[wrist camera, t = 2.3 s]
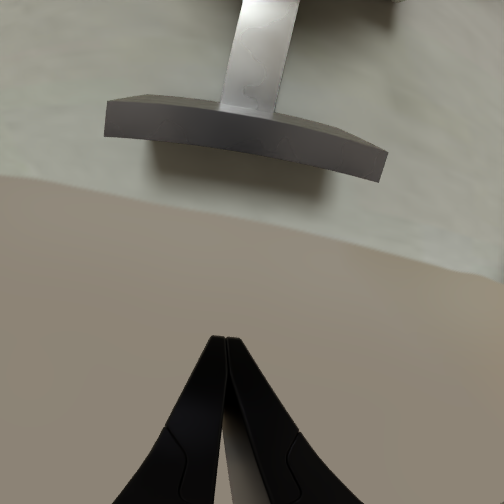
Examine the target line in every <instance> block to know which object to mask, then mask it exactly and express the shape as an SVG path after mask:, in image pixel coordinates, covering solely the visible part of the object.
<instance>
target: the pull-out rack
mask: <svg viewBox="0 0 504 504" xmlns="http://www.w3.org/2000/svg"><path fill="white" fill-rule="evenodd" d="M391 1H393V2H395V3H399V2H402V1H405V0H391ZM299 2H300V0H243V4H242V8H241V12H240V16H239V20H238V24H237V28H236V32H235V36H234V41H233V45H232V49H231V54H230V58H229V63H228V67H227V72H226V77H225V82H224V86H223V91H222V96H221V101H220V102H215V101H207V100H200V99H192V98H183V97H173V96H162V95H148V94H147V95H140V96H133V97H127V98H121V99H116V100H110V101H107V109H106V118H105V130H104V137H119V138H132V139H144V140H155V141H165V142H174V143H182V144H190V145H198V146H205V147H212V148H219V149H226V150H232V151H238V152H244V153H250V154H256V155H261V156H267V157H272V158H277V159H282V160H287V161H292V162H297V163H301V164H306V165H310V166H315V167H319V168H323V169H328V170H332V171H336V172H340V173H344V174H348V175H352V176H356V177H359V178H363V179H367V180H370V181H374V182H378V183H379V180H380V177H381V174H382V171H383V168H384V165H385V162H386V158H387V155H388V152H387V151H385V150H383V149H381V148H379V147H377V146H375V145H373V144H371V143H369V142H367V141H365V140H363V139H361V138H358V137H356V136H354V135H352V134H350V133H348V132H345V131H343V130H341V129H339V128H336V127H332V126H329V125H325V124H321V123H318V122H314V121H310V120H306V119H302V118H298V117H294V116H289V115H285V114H280V113H276V112H274V109H275V104H276V100H277V96H278V91H279V87H280V83H281V78H282V74H283V70H284V65H285V61H286V57H287V53H288V48H289V44H290V40H291V36H292V31H293V27H294V23H295V19H296V15H297V10H298V6H299Z"/></svg>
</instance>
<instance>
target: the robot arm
mask: <svg viewBox="0 0 504 504" xmlns="http://www.w3.org/2000/svg"><path fill="white" fill-rule="evenodd" d="M222 430H223V438H224V445H225V453H226V460H227V467H228V474H229V481H230V488H231V494H232V500H233V504H364V503H363V502H361V501H360V500H359V499H358V498H357V497H356V496H355V495H354V494H353V493H352V492H351V491H350V490H349V489H348V488H347V487H346V486H345V485H344V484H343V483H342V482H341V481H340V480H339V479H338V478H337V477H336V476H335V474H334V473H333V472H332V471H331V470H330V469H329V468H328V467H327V466H326V464H325V463H324V462H323V461H322V460H321V459H320V458H319V456H318V455H317V454H316V453H315V451H314V450H313V449H312V447H311V446H310V445H309V443H308V442H307V440H306V439H305V437H304V436H303V434H302V433H301V432H299V429H298V427H297V426H296V424H295V423H294V421H293V420H292V418H291V417H290V415H289V414H288V412H287V411H286V410H285V408H284V407H283V405H282V403H281V402H280V400H279V399H278V397H277V396H276V394H275V393H274V391H273V389H272V388H271V386H270V385H269V383H268V382H267V380H266V378H265V377H264V375H263V374H262V372H261V371H260V369H259V367H258V366H257V364H256V363H255V361H254V359H253V358H252V356H251V355H250V353H249V351H248V350H247V348H246V346H245V345H244V343H243V342H242V340H241V339H240V338H235V337H227V338H226V339H225V337H224V336H214V335H213V336H211V337H210V339H209V340H208V342H207V344H206V346H205V348H204V350H203V352H202V354H201V356H200V358H199V360H198V362H197V364H196V366H195V368H194V370H193V372H192V373H191V376H190V377H189V379H188V381H187V383H186V385H185V387H184V389H183V391H182V393H181V395H180V397H179V399H178V401H177V403H176V405H175V406H174V408H173V410H172V412H171V415H170V416H169V418H168V420H167V422H166V424H165V427H164V428H163V429H162V431H161V433H160V435H159V437H158V439H157V441H156V442H155V444H154V446H153V448H152V450H151V451H150V453H149V454H148V456H147V457H146V459H145V460H144V462H143V463H142V465H141V466H140V468H139V469H138V470H137V472H136V473H135V474H134V476H133V477H132V479H131V480H130V481H129V482H128V484H127V485H126V486H125V488H124V489H123V490H122V492H121V493H120V494H119V495H118V497H117V498H116V499H115V501H114V502H113V503H112V504H214V494H215V486H216V476H217V467H218V458H219V449H220V440H221V432H222ZM501 504H504V502H503V503H501Z"/></svg>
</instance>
